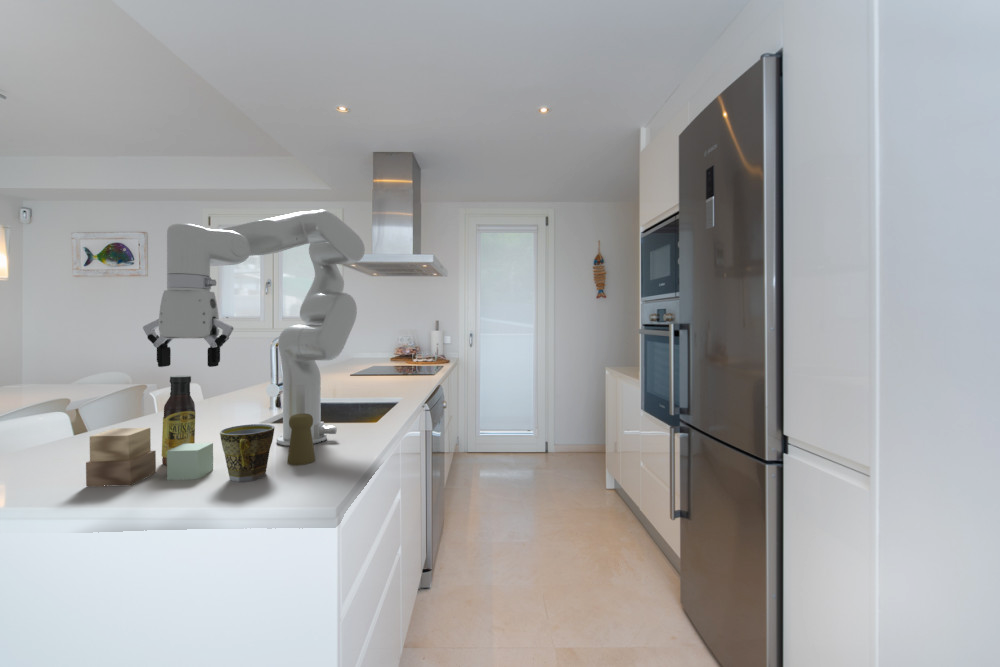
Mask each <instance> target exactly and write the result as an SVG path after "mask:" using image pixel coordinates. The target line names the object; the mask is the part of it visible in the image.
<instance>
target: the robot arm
mask: <svg viewBox="0 0 1000 667" xmlns="http://www.w3.org/2000/svg"><path fill="white" fill-rule="evenodd" d="M308 244H309V246H308V253H309V254H308V255H309V258H310V260H311V262H312V263H311V264H312V267H313V269H314V278H313V280H312V283H311V285H310V287H309V289H308V292H307V293H306V295H305V296H304V299H303V301H302V304H301V306H300V307H299V308H300V309H299V317H300V319H301V321H302V322H303V323H305V324H294V325H290V326H287V327H286V328H284V329H283V330H282V331H281V333H280V334H279V335H278V336H279V337H278V341H277V343H278V344H277V345H278V352H279V356H280V361H281V368H282V370H281V371H282V434H281V435H279V436H277V437H276V443H277V444H279V445H280V446H290V438H291V431H292V429H291V428H290V426H289V419H290V417H291V416H293V415H295V414H301V413H305V414H310V415H311V416H312V417H313V425H312V426H311V434H312V441H313V445H314V444H317V443H321V441H322V442H324V441H326V440H327V438H328V436H327V434H328V435H337V431H338V430H337V426H334V425H327V426H326V425H325V423H324V422H325V421H321V420H322V419H321V418H322V416H321V415H322V414H321V413H322V412H321V409H322V408H321V407H322V406H321V405H322V404H321V403H322V402H321V401H322V399H321V383H322V382H321V380H322V377H321V372H320V369H319V366H318V364H317V362H316V361H325V362H326V361H333V360H334V359H337V358H338V357H339V356H340V354H341V353H342V352H343V349H345V345H346V343H347V341H348V339H349V337H350V334H351V332H352V329H353V328H354V326H355V322H356V320H357V313H358V308H357V307H358V306H357V302H356V300H355V299H354V297H353V296H351V295H350V294H349V293H347V292H343V291H344V289H345V288H344V287H345V281H344V278H343V276H342V274H341V271H340V269H339V268H338V265H343V264H344V265H345V264H354V263H358V262H360V261H361V260H362V259H364V258H363V257H364V255H365V250H366V249H365V244H364V242H363V240H362V238H361V237H360V235H358V234H357V233H356V232H355V231H354V230H353V229H352V228H351V227H350V226H348V224H346V223H345V222H344V221H343V220H342V219H341V218H339V217H338V216H337V215H336V214H334V213H332V212H330V211H328V210H325V209H319V210H310V211H309V210H308V211H307V210H306V211H298V212H292V213H289V214H284V215H279V216H275V217H274V216H273V217H270V218H263V219H260V220H259V219H258V220H255V221H250V222H246V223H242V224H238V225H233V226H228V227H227V226H226V227H222V228H218V229H211V228H206V227H204V226H200V225H195V224H192V223H174V224H171V225H169V226H168V228H167V230H166V290H165V289H164V290H163V293H162V296H161V301H160V305H159V306H160V307H159V314H158V319H155V320H154V321H151V322H149V323H146V324H145V325H144V326H143V327H142V330H143V332H144V334H145V335H146V336H147V340H148V341H150V342H151V343H152V344H153V347H154V348H156V362H157V367H159V368H164V367H169V366H171V356H172V354H171V353H172V352H171V347H170V346H169V344H170V343H171V342H172V341H173V340H174V339H204V341H206V343H207V344H208V345H209V346H210V347H207V367H208V368H209V367H210V368H213V367H218V366H219V363H220V362H221V348H222V347H223V345H224V344H226V342H227V341H228V340H229V339H230V336H231V334H232V333H233V331H234V327H233V326H232V325H230V324H228V323H227V322H224V321H222V320H220V318H219V309H218V303H217V298H216V294H215V292H214V291H211V289H212V287H216V286H217V280H216V279H212V277H211V267H215V266H233V265H239V264H240V265H241V263H244V262H246V261H247V259H248V258H249V256H250V257H253V256H254V257H255V256H265V255H272V254H277V253H281V252H284V251H287V250H291V249H293V248H297V247H301V246H305V245H308ZM156 329H158V333H159V334H157V332H156ZM220 329H221V330H222V332H221V334H220Z"/></svg>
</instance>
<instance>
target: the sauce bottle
mask: <svg viewBox="0 0 1000 667" xmlns="http://www.w3.org/2000/svg"><path fill="white" fill-rule="evenodd" d="M191 382H192V376H191V375H170V377H169V383H170V392H169V398H168V399H167V401H166V402H165V404H164V405H163V406H164V407H163V417H162V436H161V438H162V439H161V457H162V458H161V459H162V461H161V462H162V464H163V465H165V466H167V451H168V450H170V449H173V448H175V447H177V446H179V445H182V444H189V443H196V442H195V441H196V439H195V438H196V437H195V436H196V405H195V401H194V400H193V398H192V396H191Z"/></svg>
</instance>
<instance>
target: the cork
mask: <svg viewBox="0 0 1000 667" xmlns="http://www.w3.org/2000/svg"><path fill="white" fill-rule="evenodd" d="M312 425H313V417H312V416H311V415H310V414H305V413H301V414H295V415H293V416H291V417H290V419H289V426H290V428H291V429H292V431H291V438H290V446H289V448H288V456H287V462H286V463H287V465H291V466H301V465H302V466H303V465H308V463H309V464H312V463H313V462H314V463H315V461H316V456H315V450H314V444H313V441H312V434H311V426H312Z"/></svg>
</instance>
